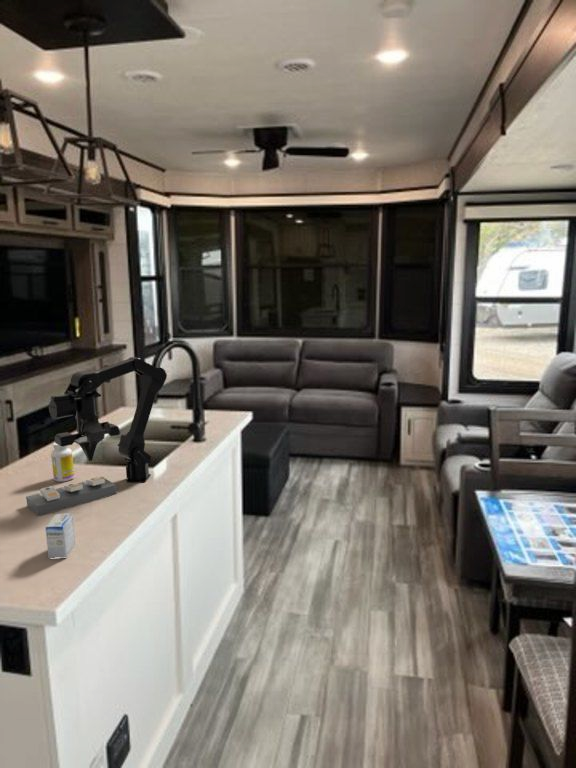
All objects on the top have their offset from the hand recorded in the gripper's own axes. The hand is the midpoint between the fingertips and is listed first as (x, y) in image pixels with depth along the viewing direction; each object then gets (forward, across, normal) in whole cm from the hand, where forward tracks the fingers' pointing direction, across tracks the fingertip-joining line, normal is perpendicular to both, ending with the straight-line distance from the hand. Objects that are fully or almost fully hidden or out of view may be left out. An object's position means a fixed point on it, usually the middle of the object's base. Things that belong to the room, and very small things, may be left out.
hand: (90, 460), depth 180 cm
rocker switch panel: (+11, -7, -1) cm, 13 cm away
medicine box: (+11, -22, -33) cm, 41 cm away
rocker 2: (+6, 0, -2) cm, 7 cm away
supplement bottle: (+11, -2, +20) cm, 23 cm away
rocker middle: (+6, -7, -2) cm, 10 cm away
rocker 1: (+6, -14, -2) cm, 15 cm away
